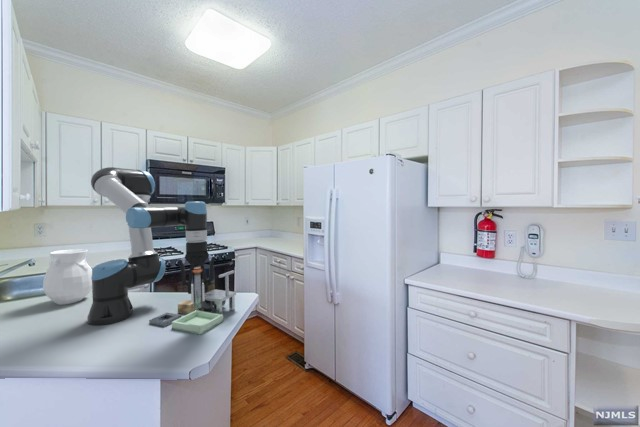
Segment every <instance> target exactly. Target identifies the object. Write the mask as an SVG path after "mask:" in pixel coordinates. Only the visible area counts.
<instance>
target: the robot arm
mask: <svg viewBox="0 0 640 427" xmlns="http://www.w3.org/2000/svg"><path fill="white" fill-rule="evenodd" d="M91 176H92V177H91V179H90V185H91V188H92V190H94V192H96V193H97V195H99V196H101V197H104V198H106V199H108V200H109V201H110V202H112V203H113V205H114V206H116V208H119V210H121V211H122V212H123V213H124V214H125V221H126V223H127V226H128V233H129V240H130V241H129V243H130V249H131V254H130V255H129V256H128V257H127V259H128V260H127V259H123V258H120V259H113V260H108V261H104V262H101V263H98V264H97V265H95V266H94V267H93V268H92V277H91V279H92V290H91V291H92V304H91V307H90V308H89V312H88V315H87V324H88V325H92V326H102V325H110V324H114V323H117V322H118V323H119V322H121V321H123V320H126V319H128V318H129V317H131V316H132V315H134V307H133V304H132V302H131V300H130V298H129V297H130V296H129V289H133V288H137V287H140V286H145V285H151V284H153V283H156V282H159V281H160V280H161V279H163V276H164V275H165V272H166V261H165V260H164V258H163V257H162V256H159V252H157V250H156V251H155V249H154V243H153V234H152V228H163V227H175V226H176V227H177V226H184V227H185V241H186V243H185V255H184V256H183V257H182V258H179V259H178V260H177V263H178V265H179V267H180V275H181V282H182V285H183V286H187V294H188V295H191V300H190V301H192V303H194V290H193V273H192V270H194V268H195V267H196V266H201V269H203V272H202V275H203V280H204V283H202V300H203V301H205V295H204V292H207V290H208V287H207V284H208V283H209V282H211V281H212V277H213V266H214V263H215V260H216V256H215V255H210V254H209V251H208V241H207V240H208V230H207V228H208V226H207V225H208V223H207V222H208V221H207V220H208V218H207V217H208V215H207V214H208V211H207V204H206V202H205V201H186V202H185V203H184V206H151V205H150V204H149V202H148V201H149V200H150V199H151V197H152V195H153V194H154V192H155V189H156V183H155V179H154V177H153V175H152V174H151V173H150V172H148V171H145V170H141V169H134V168H133V169H132V168H122V167H113V166H111V167H104V168H101V169H99V170H97V171H96V172H94V173H93V175H91ZM207 259H208V261H209V265H210V268H209V278H208V279H207V277H206V272H205V267H204V264H205V262H206V261H207ZM186 261H187V262H188V263H189V265H190V267H189V274H188V280H187V278H186V277H187V276H186V268H185V263H186Z"/></svg>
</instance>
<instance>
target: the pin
mask: <svg viewBox="0 0 640 427" xmlns="http://www.w3.org/2000/svg"><path fill="white" fill-rule="evenodd" d="M202 272H203V269H201V267H197V268H195V267H194V270H192V273H193V276H192V284H193V290H194V308H195V309H197V310H198V308H202V307H203V300H202Z"/></svg>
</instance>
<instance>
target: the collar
mask: <svg viewBox="0 0 640 427" xmlns="http://www.w3.org/2000/svg"><path fill="white" fill-rule="evenodd" d="M181 317H182V315H181V314H179V313H178V314H177V313H173V312H165V313H162V314H160V315H158V316H156V317H153V318H152V319H151V318H150V319H149V320H148V321H149V323H148V324H149V325H153V326H158V327H163V328H165V327H167V326H169V325H172V322H173V321H175V320H177V319H179V318H181Z"/></svg>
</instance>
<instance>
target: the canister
mask: <svg viewBox="0 0 640 427" xmlns="http://www.w3.org/2000/svg"><path fill="white" fill-rule="evenodd" d="M197 267H201V266H200V265H195V266H194V268H197ZM204 267H205V272H206V277H207V279H208V278H209V268H210V264H207V263H204ZM215 279H216V278H215V266H214V265H213V277H212V281H211V282H209V283H208V284H207V287H208V290H207V292H209V291H212V290H214V289H215V288H216V286H215V284H216V283H215V282H216V281H215ZM202 283H204V280H203V275H202ZM207 292H204V294H205V293H207Z"/></svg>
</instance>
